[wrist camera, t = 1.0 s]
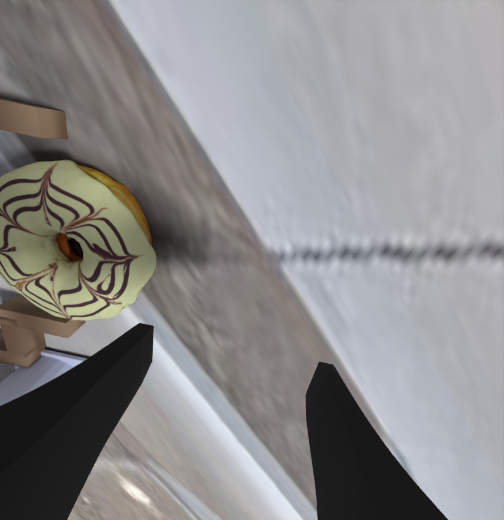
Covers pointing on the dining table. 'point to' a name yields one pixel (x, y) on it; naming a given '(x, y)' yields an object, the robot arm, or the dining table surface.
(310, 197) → the dining table surface
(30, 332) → the frame
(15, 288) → the decorated donut
